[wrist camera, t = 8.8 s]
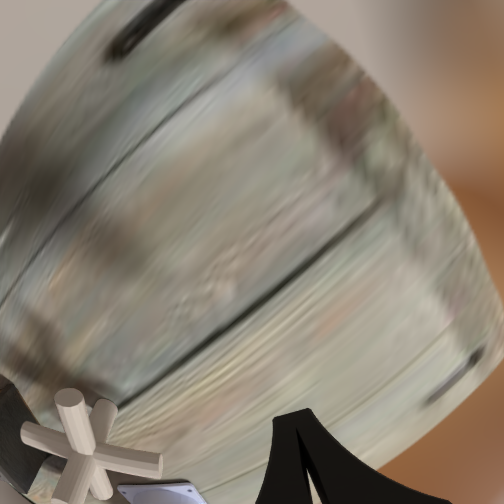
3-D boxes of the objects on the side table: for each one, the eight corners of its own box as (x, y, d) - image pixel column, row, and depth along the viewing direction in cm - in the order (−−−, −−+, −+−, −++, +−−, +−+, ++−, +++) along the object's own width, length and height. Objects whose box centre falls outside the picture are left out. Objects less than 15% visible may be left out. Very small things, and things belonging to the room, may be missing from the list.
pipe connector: (66, 435, 20) (27, 516, 10) (39, 341, 18) (-36, 422, 8) (173, 457, 21) (161, 555, 11) (167, 364, 19) (135, 483, 9)
